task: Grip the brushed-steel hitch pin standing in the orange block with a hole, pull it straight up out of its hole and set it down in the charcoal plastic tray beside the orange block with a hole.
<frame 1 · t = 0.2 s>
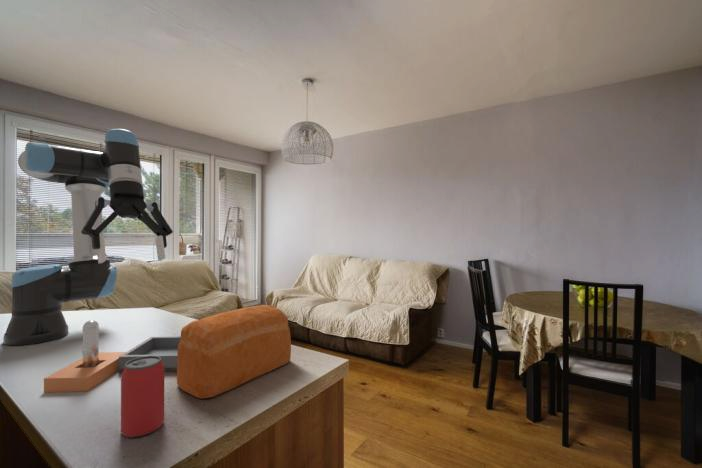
hand: (133, 260, 84), 27 cm above the counter, tool tilted 15°, fingers open, 13 cm apart
orange block with hole: (90, 376, 78), on the counter
hitch pin: (90, 348, 78), in the orange block with hole
beer can: (143, 428, 58), on the counter
bread: (238, 373, 81), on the counter
tray: (165, 360, 88), on the counter
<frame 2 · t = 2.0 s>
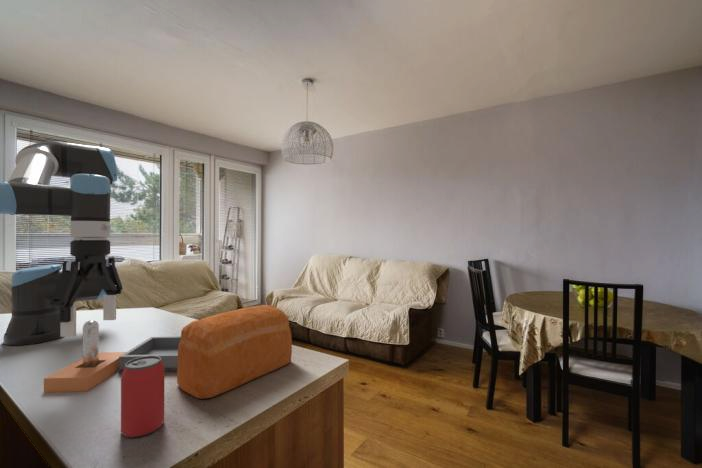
hand: (90, 327, 78), 12 cm above the counter, tool pointing down, fingers open, 13 cm apart
nothing on the counter moved.
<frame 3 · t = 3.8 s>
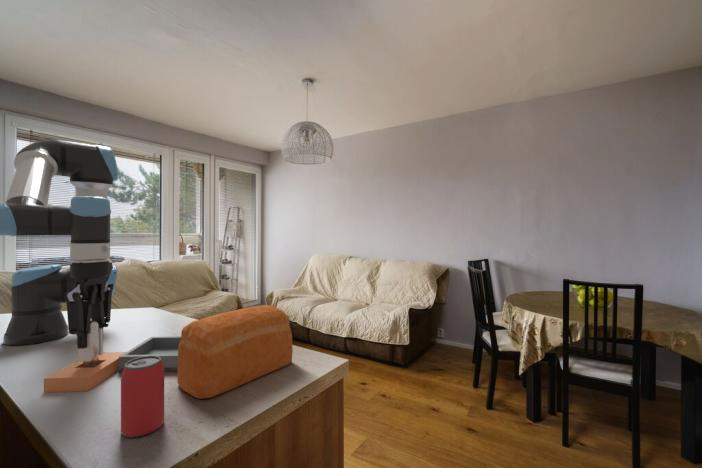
hand: (90, 357, 78), 5 cm above the counter, tool pointing down, fingers closed on hitch pin, 3 cm apart
hitch pin: (90, 348, 78), in the orange block with hole, touching gripper
everything else where it was.
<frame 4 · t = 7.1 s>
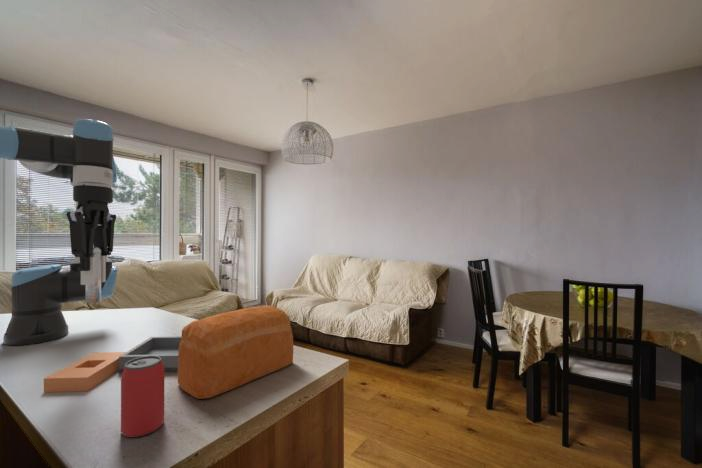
hand: (93, 283, 78), 23 cm above the counter, tool pointing down, fingers closed on hitch pin, 3 cm apart
hitch pin: (93, 273, 78), point 25 cm above the counter, touching gripper
everything else where it was.
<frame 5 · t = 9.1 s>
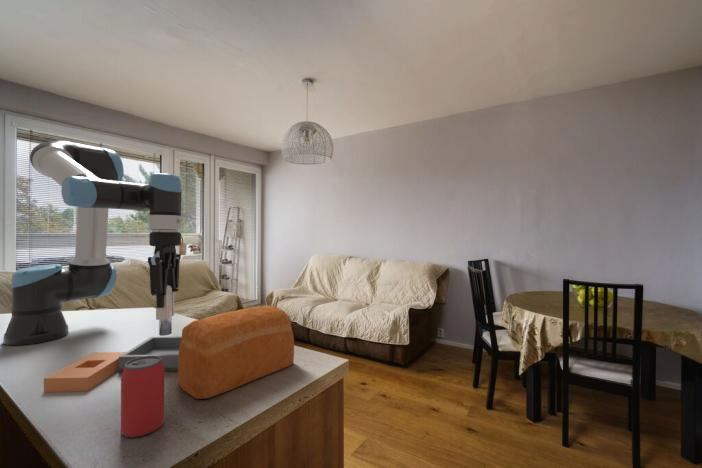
hand: (165, 317, 88), 12 cm above the counter, tool pointing down, fingers closed on hitch pin, 3 cm apart
hitch pin: (165, 309, 88), point 14 cm above the counter, touching gripper
everything else where it was.
when the fingers open (7 cm above the counter, at t = 10.7 s): hitch pin drops 1 cm, resting on tray.
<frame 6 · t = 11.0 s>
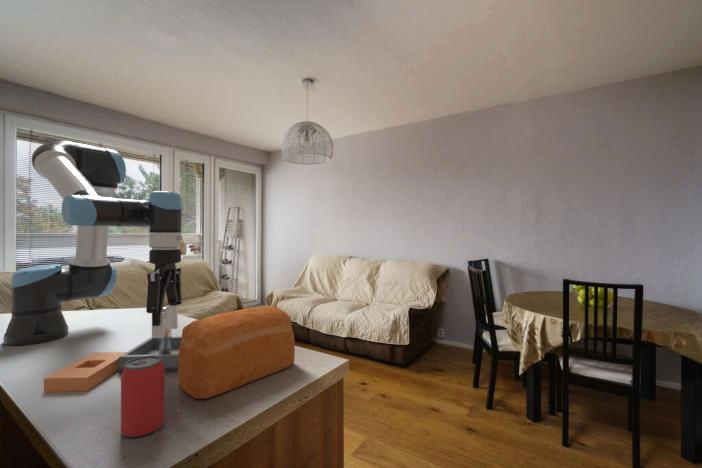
hand: (165, 332, 88), 8 cm above the counter, tool pointing down, fingers open, 7 cm apart
hitch pin: (165, 331, 88), in the tray, point 8 cm above the counter
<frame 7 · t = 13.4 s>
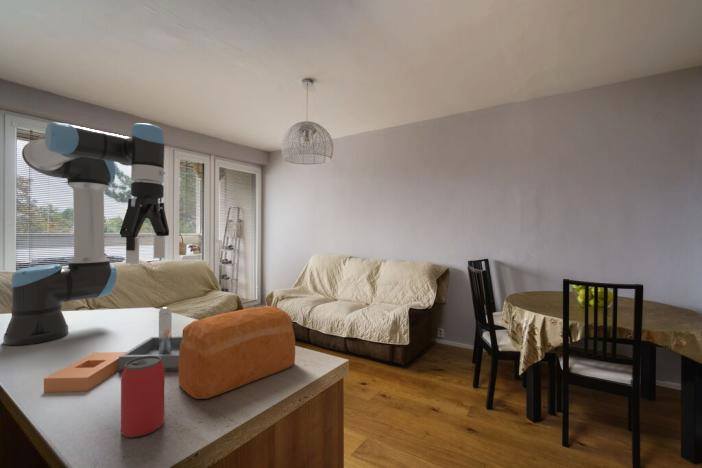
hand: (146, 260, 88), 27 cm above the counter, tool pointing down, fingers open, 13 cm apart
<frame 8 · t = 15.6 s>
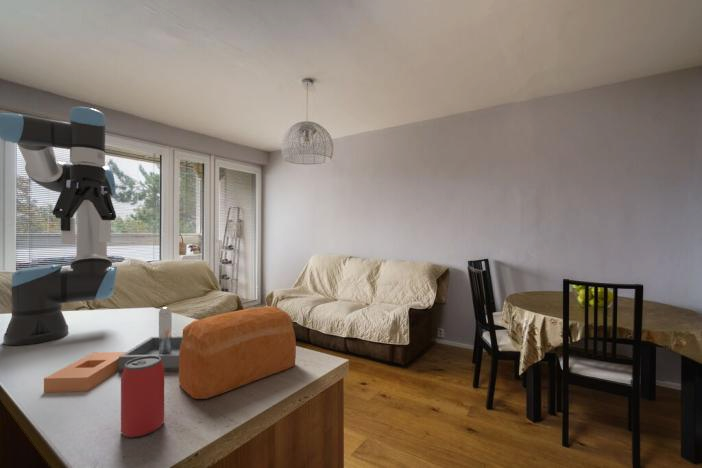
hand: (88, 243, 89), 32 cm above the counter, tool pointing down, fingers open, 13 cm apart
at the end: hitch pin inside the target area on the tray (0.0 cm from its centre), point 7.8 cm above the tray's base; the gripper is holding nothing; hitch pin touching tray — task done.
